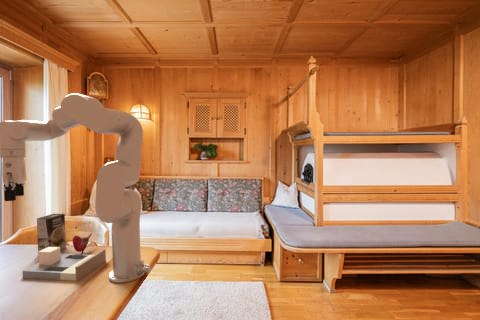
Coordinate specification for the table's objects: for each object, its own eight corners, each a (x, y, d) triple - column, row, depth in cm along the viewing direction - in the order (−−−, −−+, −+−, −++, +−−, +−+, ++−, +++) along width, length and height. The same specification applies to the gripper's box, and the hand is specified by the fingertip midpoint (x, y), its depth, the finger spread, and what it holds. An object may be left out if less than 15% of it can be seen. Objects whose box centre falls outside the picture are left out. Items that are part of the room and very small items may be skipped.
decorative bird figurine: (70, 261, 113) (68, 238, 112) (89, 245, 130) (88, 225, 130) (77, 261, 113) (76, 237, 112) (95, 245, 131) (94, 224, 130)
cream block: (60, 259, 109) (60, 247, 109) (50, 265, 104) (50, 252, 104) (49, 258, 110) (48, 246, 109) (38, 264, 105) (38, 251, 105)
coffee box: (49, 255, 119) (47, 218, 118) (37, 254, 121) (35, 218, 120) (67, 247, 128) (65, 213, 127) (55, 246, 130) (53, 212, 129)
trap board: (105, 261, 113) (105, 249, 113) (78, 280, 97) (77, 266, 97) (57, 259, 116) (56, 247, 115) (22, 277, 100) (21, 264, 99)
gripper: (17, 154, 98) (19, 202, 99) (31, 152, 114) (32, 193, 115) (-10, 154, 95) (-7, 203, 96) (8, 152, 111) (10, 194, 112)
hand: (14, 198), depth 105 cm, fingers open, 9 cm apart
